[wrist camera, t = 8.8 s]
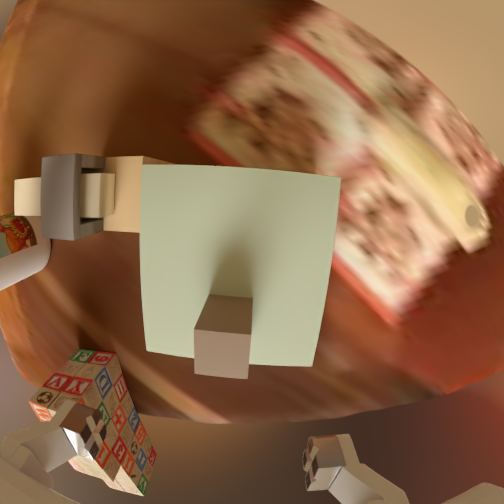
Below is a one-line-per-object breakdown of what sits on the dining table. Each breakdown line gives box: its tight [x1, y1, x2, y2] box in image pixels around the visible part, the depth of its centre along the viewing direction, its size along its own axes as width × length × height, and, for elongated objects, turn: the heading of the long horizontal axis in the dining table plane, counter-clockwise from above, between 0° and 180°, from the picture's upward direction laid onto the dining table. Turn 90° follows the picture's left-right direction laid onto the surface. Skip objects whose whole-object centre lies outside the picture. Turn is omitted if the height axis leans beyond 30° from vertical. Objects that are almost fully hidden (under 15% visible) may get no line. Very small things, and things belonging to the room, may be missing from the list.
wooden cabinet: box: [40, 153, 176, 240], centre depth 21 cm, size 22×15×12 cm
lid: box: [140, 165, 341, 379], centre depth 17 cm, size 13×14×6 cm
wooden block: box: [14, 173, 115, 218], centre depth 16 cm, size 9×3×2 cm, turn 86°
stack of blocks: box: [29, 349, 156, 496], centre depth 26 cm, size 21×6×12 cm, turn 4°
